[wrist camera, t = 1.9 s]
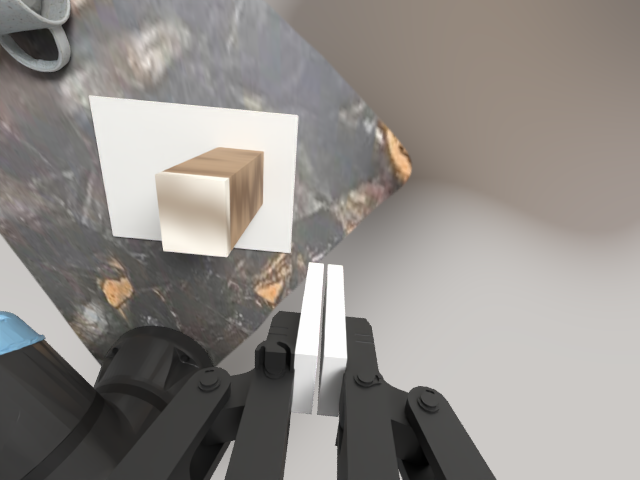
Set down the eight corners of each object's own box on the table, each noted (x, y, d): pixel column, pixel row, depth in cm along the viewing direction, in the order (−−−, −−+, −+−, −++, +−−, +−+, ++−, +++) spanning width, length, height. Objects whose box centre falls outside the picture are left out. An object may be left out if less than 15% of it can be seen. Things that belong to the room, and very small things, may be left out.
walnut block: (262, 203, 39) (227, 257, 26) (220, 199, 39) (163, 251, 26) (263, 151, 36) (225, 181, 24) (218, 146, 36) (154, 174, 24)
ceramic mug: (-33, -46, 31) (-141, -86, 24) (47, -67, 30) (-41, -115, 23) (27, 79, 35) (-49, 77, 28) (98, 64, 34) (37, 57, 27)
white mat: (290, 251, 41) (290, 253, 41) (115, 234, 42) (113, 236, 41) (298, 115, 35) (297, 115, 35) (91, 95, 35) (88, 95, 35)
